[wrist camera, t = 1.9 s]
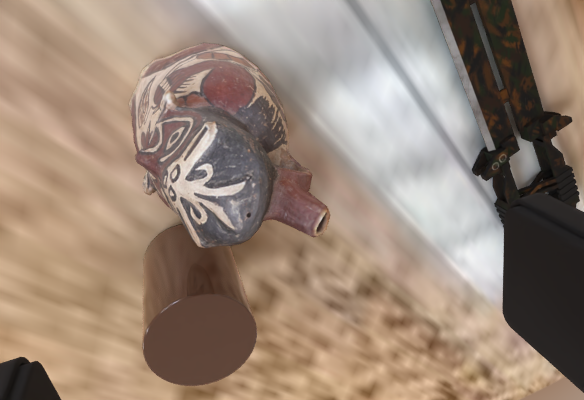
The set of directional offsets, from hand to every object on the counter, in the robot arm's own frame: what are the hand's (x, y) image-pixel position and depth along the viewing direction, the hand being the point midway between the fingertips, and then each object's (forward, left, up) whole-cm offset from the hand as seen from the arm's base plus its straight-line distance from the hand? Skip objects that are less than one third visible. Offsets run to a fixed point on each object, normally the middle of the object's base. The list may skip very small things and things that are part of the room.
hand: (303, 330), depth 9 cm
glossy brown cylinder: (+8, -3, -17) cm, 19 cm away
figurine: (0, 0, -17) cm, 17 cm away
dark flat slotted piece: (+3, +17, -17) cm, 24 cm away
